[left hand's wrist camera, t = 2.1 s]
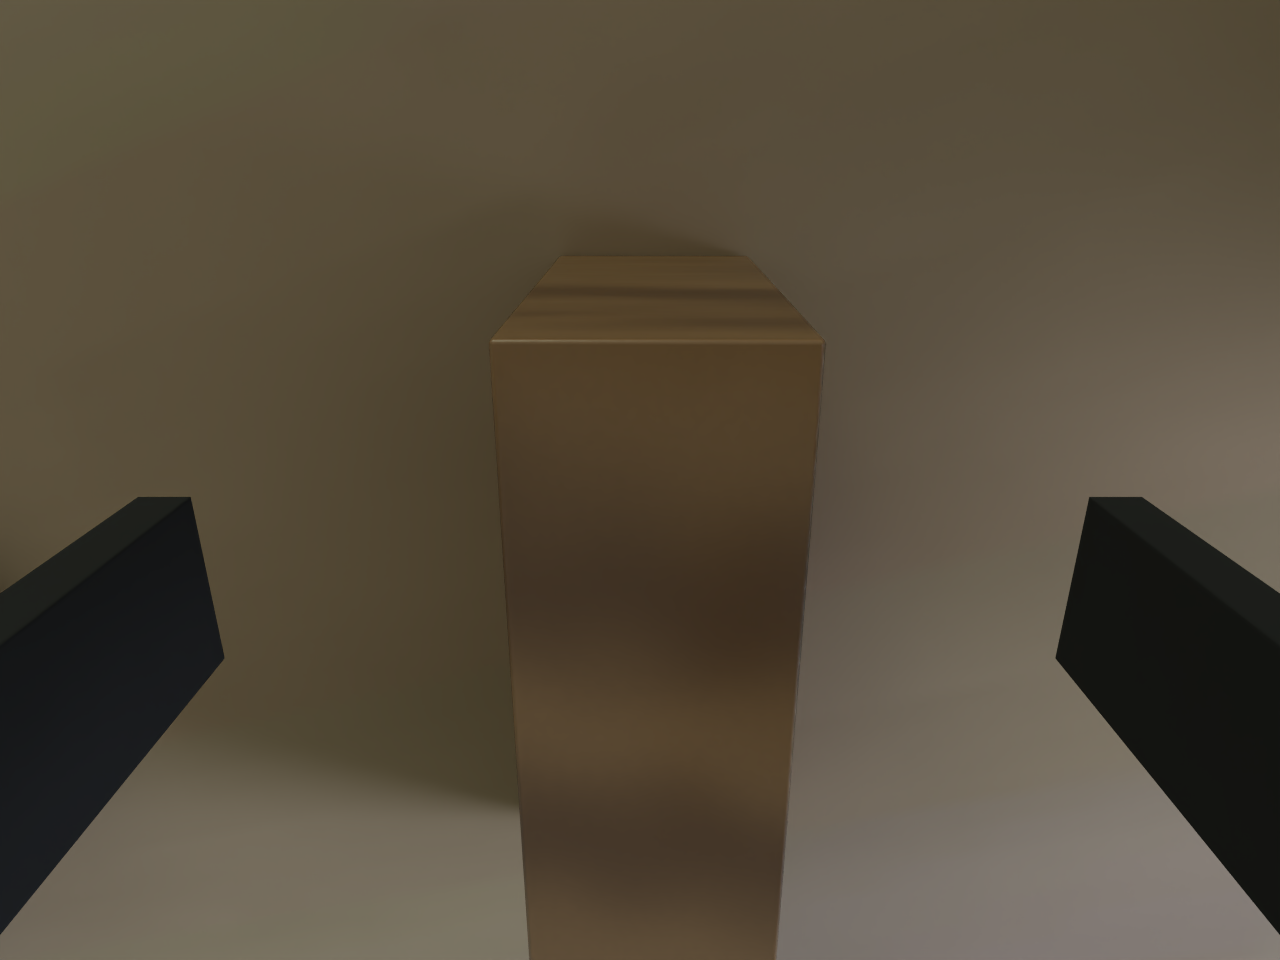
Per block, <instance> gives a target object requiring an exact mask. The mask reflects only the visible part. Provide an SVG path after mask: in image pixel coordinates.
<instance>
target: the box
mask: <svg viewBox="0 0 1280 960" xmlns="http://www.w3.org/2000/svg"><path fill="white" fill-rule="evenodd" d="M825 346H826V344H825V341H824V339H823V338H822V337H821V336H820V335H819V334H818V333H817V332H816V331H815V330H814V328H813V327H812V326H811V325H810V324H809V323H808V322H807V321H806V320H805V319H804V318H803V316H802V315H801V314H800V313H799V312H798V311H797V310H796V309H795V308H794V307H793V305H792V304H791V303H790V302H789V301H788V300H787V299H786V298H785V297H784V296H783V295H782V293H781V292H780V291H779V290H778V289H777V288H776V287H775V286H774V285H773V284H772V282H771V281H770V280H769V279H768V278H767V277H766V276H765V275H764V274H763V273H762V272H761V270H760V269H759V268H758V267H757V266H756V265H755V264H754V263H753V262H752V261H751V260H750V258H749V257H747V256H561V257H559V258H558V259H557V261H556V262H555V263H554V264H553V265H552V267H551V268H550V269H549V270H548V271H547V273H546V274H545V275H544V276H543V277H542V279H541V280H540V281H539V282H538V283H537V284H536V286H535V287H534V288H533V289H532V290H531V292H530V293H529V294H528V295H527V296H526V298H525V299H524V300H523V301H522V302H521V304H520V305H519V306H518V307H517V308H516V310H515V311H514V312H513V313H512V314H511V316H510V317H509V318H508V319H507V320H506V322H505V323H504V324H503V325H502V326H501V327H500V329H499V330H498V331H497V332H496V333H495V335H494V336H493V337H492V338H491V339H490V342H489V352H490V367H491V382H492V397H493V413H494V428H495V443H496V458H497V474H498V489H499V504H500V519H501V535H502V550H503V565H504V580H505V595H506V611H507V626H508V641H509V656H510V672H511V687H512V702H513V717H514V733H515V748H516V763H517V778H518V794H519V809H520V824H521V839H522V855H523V870H524V885H525V900H526V916H527V931H528V946H529V960H776V956H777V944H778V931H779V919H780V907H781V894H782V882H783V869H784V857H785V844H786V832H787V819H788V807H789V794H790V782H791V770H792V757H793V745H794V732H795V720H796V707H797V695H798V682H799V670H800V657H801V645H802V633H803V620H804V608H805V595H806V583H807V570H808V558H809V545H810V533H811V520H812V508H813V496H814V483H815V471H816V458H817V446H818V433H819V421H820V408H821V396H822V383H823V371H824V359H825Z"/></svg>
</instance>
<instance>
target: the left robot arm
mask: <svg viewBox="0 0 1280 960" xmlns="http://www.w3.org/2000/svg"><path fill="white" fill-rule="evenodd" d="M223 659H224V653H223V649H222V644H221V639H220V634H219V630H218V625H217V620H216V615H215V611H214V606H213V601H212V596H211V592H210V587H209V582H208V577H207V573H206V568H205V563H204V558H203V554H202V549H201V544H200V539H199V535H198V530H197V525H196V520H195V516H194V511H193V506H192V501H191V497H138V498H136V499H135V500H133V501H132V502H130V503H129V504H128V505H126V506H125V507H123V508H122V509H120V510H119V511H118V512H116V513H115V514H113V515H112V516H110V517H109V518H108V519H106V520H105V521H103V522H102V523H100V524H99V525H98V526H96V527H95V528H93V529H92V530H90V531H89V532H88V533H86V534H85V535H83V536H82V537H80V538H79V539H78V540H76V541H75V542H73V543H72V544H70V545H69V546H68V547H66V548H65V549H63V550H62V551H60V552H59V553H58V554H56V555H55V556H53V557H52V558H50V559H49V560H48V561H46V562H45V563H43V564H42V565H40V566H39V567H38V568H36V569H35V570H33V571H32V572H30V573H29V574H27V575H26V576H25V577H23V578H22V579H20V580H19V581H17V582H16V583H15V584H13V585H12V586H10V587H9V588H7V589H6V590H5V591H3V592H2V593H0V934H1V933H2V932H3V931H4V929H5V928H6V927H7V926H8V924H9V923H10V922H11V921H12V920H13V918H14V917H15V916H16V915H17V913H18V912H19V911H20V910H21V908H22V907H23V906H24V905H25V904H26V902H27V901H28V900H29V899H30V897H31V896H32V895H33V894H34V892H35V891H36V890H37V889H38V887H39V886H40V885H41V884H42V883H43V881H44V880H45V879H46V878H47V876H48V875H49V874H50V873H51V871H52V870H53V869H54V868H55V867H56V865H57V864H58V863H59V862H60V860H61V859H62V858H63V857H64V855H65V854H66V853H67V852H68V851H69V849H70V848H71V847H72V846H73V844H74V843H75V842H76V841H77V839H78V838H79V837H80V836H81V834H82V833H83V832H84V831H85V830H86V828H87V827H88V826H89V825H90V823H91V822H92V821H93V820H94V818H95V817H96V816H97V815H98V814H99V812H100V811H101V810H102V809H103V807H104V806H105V805H106V804H107V802H108V801H109V800H110V799H111V798H112V796H113V795H114V794H115V793H116V791H117V790H118V789H119V788H120V786H121V785H122V784H123V783H124V781H125V780H126V779H127V778H128V777H129V775H130V774H131V773H132V772H133V770H134V769H135V768H136V767H137V765H138V764H139V763H140V762H141V761H142V759H143V758H144V757H145V756H146V754H147V753H148V752H149V751H150V749H151V748H152V747H153V746H154V745H155V743H156V742H157V741H158V740H159V738H160V737H161V736H162V735H163V733H164V732H165V731H166V730H167V728H168V727H169V726H170V725H171V724H172V722H173V721H174V720H175V719H176V717H177V716H178V715H179V714H180V712H181V711H182V710H183V709H184V708H185V706H186V705H187V704H188V703H189V701H190V700H191V699H192V698H193V696H194V695H195V694H196V693H197V692H198V690H199V689H200V688H201V687H202V685H203V684H204V683H205V682H206V680H207V679H208V678H209V677H210V675H211V674H212V673H213V672H214V671H215V669H216V668H217V667H218V666H219V664H220V663H221V662H222V661H223ZM1056 659H1057V661H1058V662H1059V663H1060V664H1061V666H1062V667H1063V668H1064V669H1065V671H1066V672H1067V673H1068V674H1069V676H1070V677H1071V678H1072V679H1073V680H1074V682H1075V683H1076V684H1077V685H1078V687H1079V688H1080V689H1081V690H1082V692H1083V693H1084V694H1085V695H1086V696H1087V698H1088V699H1089V700H1090V701H1091V703H1092V704H1093V705H1094V706H1095V708H1096V709H1097V710H1098V711H1099V712H1100V714H1101V715H1102V716H1103V717H1104V719H1105V720H1106V721H1107V722H1108V724H1109V725H1110V726H1111V727H1112V729H1113V730H1114V731H1115V732H1116V733H1117V735H1118V736H1119V737H1120V738H1121V740H1122V741H1123V742H1124V743H1125V745H1126V746H1127V747H1128V748H1129V749H1130V751H1131V752H1132V753H1133V754H1134V756H1135V757H1136V758H1137V759H1138V761H1139V762H1140V763H1141V764H1142V765H1143V767H1144V768H1145V769H1146V770H1147V772H1148V773H1149V774H1150V775H1151V777H1152V778H1153V779H1154V780H1155V782H1156V783H1157V784H1158V785H1159V786H1160V788H1161V789H1162V790H1163V791H1164V793H1165V794H1166V795H1167V796H1168V798H1169V799H1170V800H1171V801H1172V802H1173V804H1174V805H1175V806H1176V807H1177V809H1178V810H1179V811H1180V812H1181V814H1182V815H1183V816H1184V817H1185V818H1186V820H1187V821H1188V822H1189V823H1190V825H1191V826H1192V827H1193V828H1194V830H1195V831H1196V832H1197V833H1198V835H1199V836H1200V837H1201V838H1202V839H1203V841H1204V842H1205V843H1206V844H1207V846H1208V847H1209V848H1210V849H1211V851H1212V852H1213V853H1214V854H1215V855H1216V857H1217V858H1218V859H1219V860H1220V862H1221V863H1222V864H1223V865H1224V867H1225V868H1226V869H1227V870H1228V871H1229V873H1230V874H1231V875H1232V876H1233V878H1234V879H1235V880H1236V881H1237V883H1238V884H1239V885H1240V886H1241V888H1242V889H1243V890H1244V891H1245V892H1246V894H1247V895H1248V896H1249V897H1250V899H1251V900H1252V901H1253V902H1254V904H1255V905H1256V906H1257V907H1258V908H1259V910H1260V911H1261V912H1262V913H1263V915H1264V916H1265V917H1266V918H1267V920H1268V921H1269V922H1270V923H1271V924H1272V926H1273V927H1274V928H1275V929H1276V931H1277V932H1278V933H1279V934H1280V593H1278V592H1277V591H1275V590H1274V589H1273V588H1271V587H1270V586H1268V585H1267V584H1265V583H1264V582H1263V581H1261V580H1260V579H1258V578H1257V577H1255V576H1254V575H1253V574H1251V573H1250V572H1248V571H1247V570H1245V569H1244V568H1242V567H1241V566H1240V565H1238V564H1237V563H1235V562H1234V561H1232V560H1231V559H1230V558H1228V557H1227V556H1225V555H1224V554H1222V553H1221V552H1220V551H1218V550H1217V549H1215V548H1214V547H1212V546H1211V545H1210V544H1208V543H1207V542H1205V541H1204V540H1202V539H1201V538H1200V537H1198V536H1197V535H1195V534H1194V533H1192V532H1191V531H1190V530H1188V529H1187V528H1185V527H1184V526H1182V525H1181V524H1180V523H1178V522H1177V521H1175V520H1174V519H1172V518H1171V517H1170V516H1168V515H1167V514H1165V513H1164V512H1162V511H1161V510H1160V509H1158V508H1157V507H1155V506H1154V505H1152V504H1151V503H1150V502H1148V501H1147V500H1145V499H1144V498H1142V497H1089V501H1088V506H1087V511H1086V516H1085V520H1084V525H1083V530H1082V535H1081V539H1080V544H1079V549H1078V554H1077V558H1076V563H1075V568H1074V573H1073V577H1072V582H1071V587H1070V592H1069V596H1068V601H1067V606H1066V611H1065V615H1064V620H1063V625H1062V630H1061V634H1060V639H1059V644H1058V649H1057V653H1056Z"/></svg>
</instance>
